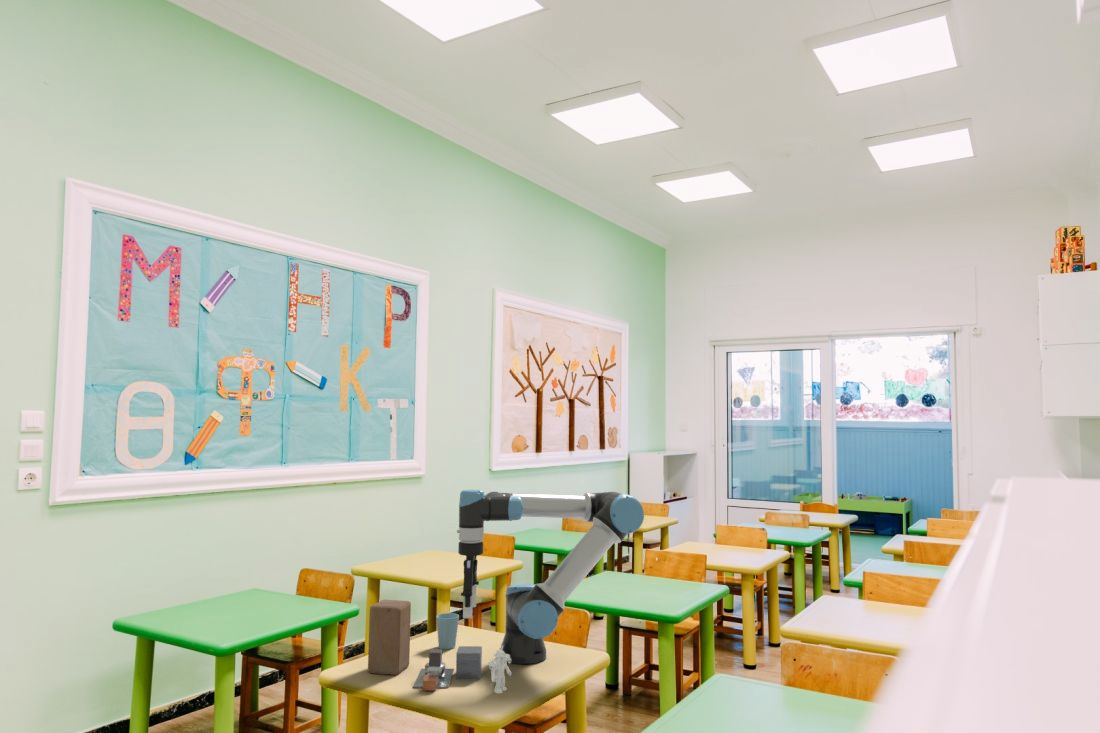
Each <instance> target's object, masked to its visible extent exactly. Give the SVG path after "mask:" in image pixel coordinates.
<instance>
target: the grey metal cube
mask: <svg viewBox="0 0 1100 733" xmlns="http://www.w3.org/2000/svg"><path fill="white" fill-rule="evenodd" d="M482 648H483V647H482V646H480V645H477V646H476V645H475V646H466V645H465V646H464V645H463V646H461V645H460V646H458V647H457V651H456V656H455V658H456V660H455V661H456V663H455V665H456V668H455V669H456V670H455V680H480V679H481V676H482V666H483V665H482V661H483V660H482V654H483V651H482V650H483V649H482Z"/></svg>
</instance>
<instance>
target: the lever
mask: <svg viewBox="0 0 1100 733" xmlns="http://www.w3.org/2000/svg"><path fill="white" fill-rule="evenodd" d="M428 654H429V655H428V662H427V663H426V664H424V668H421V669H420V671H419V673H418V675H417V677H416V680H415V681H414V683H413V686H412V688H413V689H422V691H436V689H448V688H449V686H450V683H451V680H452V678H453V674H454V671H455V668H446V663H445V662H443V649H441V648H438V649H436V648H433V649H430V650H429V651H428Z"/></svg>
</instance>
